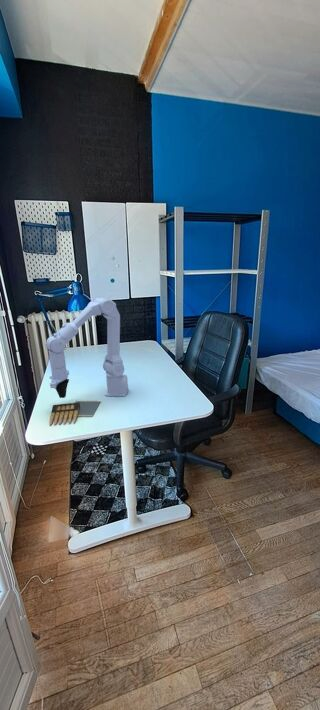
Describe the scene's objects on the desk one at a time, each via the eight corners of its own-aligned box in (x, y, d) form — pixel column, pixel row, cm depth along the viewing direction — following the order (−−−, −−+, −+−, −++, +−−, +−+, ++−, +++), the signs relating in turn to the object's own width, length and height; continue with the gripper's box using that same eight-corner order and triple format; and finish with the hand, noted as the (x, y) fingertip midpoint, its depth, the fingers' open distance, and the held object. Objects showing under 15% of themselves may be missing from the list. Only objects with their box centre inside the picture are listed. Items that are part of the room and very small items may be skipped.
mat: (100, 401, 129) (100, 400, 129) (92, 417, 117) (92, 415, 117) (76, 401, 130) (76, 400, 130) (65, 416, 118) (65, 415, 118)
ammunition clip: (53, 408, 122) (47, 427, 111) (52, 404, 121) (47, 423, 111) (80, 406, 123) (77, 424, 113) (79, 402, 123) (76, 420, 112)
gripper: (55, 360, 126) (60, 389, 130) (40, 372, 112) (45, 405, 116) (72, 360, 125) (75, 389, 129) (58, 372, 111) (63, 405, 115)
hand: (62, 397), depth 123 cm, fingers closed
